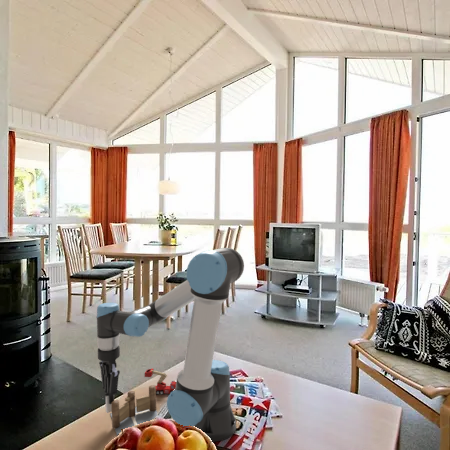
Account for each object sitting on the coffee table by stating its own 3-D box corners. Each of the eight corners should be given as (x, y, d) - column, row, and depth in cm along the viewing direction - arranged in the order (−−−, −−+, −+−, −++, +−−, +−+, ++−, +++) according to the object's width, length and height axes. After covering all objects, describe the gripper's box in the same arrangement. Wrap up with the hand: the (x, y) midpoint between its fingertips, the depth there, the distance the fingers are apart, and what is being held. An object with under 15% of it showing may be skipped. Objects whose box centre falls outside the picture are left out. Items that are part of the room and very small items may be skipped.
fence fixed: (157, 411, 134) (156, 387, 134) (129, 418, 130) (128, 394, 129) (155, 407, 137) (154, 384, 136) (127, 415, 132) (126, 391, 132)
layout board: (162, 422, 127) (162, 421, 127) (117, 435, 120) (116, 434, 120) (151, 403, 140) (151, 402, 140) (110, 414, 133) (110, 413, 133)
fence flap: (136, 413, 132) (136, 391, 132) (116, 429, 122) (115, 404, 122) (131, 412, 133) (130, 389, 133) (110, 427, 124) (109, 403, 124)
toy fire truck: (176, 395, 146) (176, 372, 146) (144, 394, 148) (144, 371, 148) (178, 391, 150) (177, 368, 150) (147, 390, 151) (146, 368, 151)
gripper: (126, 349, 123) (127, 414, 124) (111, 339, 133) (113, 400, 134) (105, 355, 118) (106, 423, 119) (91, 344, 128) (93, 407, 129)
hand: (110, 410), depth 126 cm, fingers closed
